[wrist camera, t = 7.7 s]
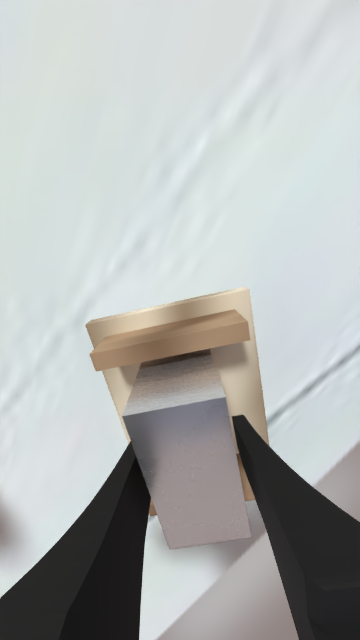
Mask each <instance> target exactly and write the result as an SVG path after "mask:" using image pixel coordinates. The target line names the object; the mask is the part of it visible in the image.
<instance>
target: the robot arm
mask: <svg viewBox="0 0 360 640" xmlns="http://www.w3.org/2000/svg"><path fill="white" fill-rule="evenodd" d="M232 421H233V426H234V432H235V437H236V443H237V447H238V451H239V454H240V458H241V461H242V465H243V468H244V470H245V473H246V476H247V478H248V481H249V484H250V486H251V489H252V492H253V494H254V497H255V499H256V502H257V505H258V507H259V510H260V513H261V515H262V518H263V521H264V524H265V527H266V530H267V533H268V536H269V540H270V543H271V546H272V549H273V552H274V556H275V559H276V563H277V566H278V570H279V573H280V576H281V580H282V583H283V586H284V590H285V593H286V596H287V600H288V603H289V607H290V610H291V613H292V617H293V620H294V623H295V627H296V630H297V634H298V637H299V640H360V522H359V521H357V520H356V519H354V518H353V517H351V516H350V515H349V514H347V513H346V512H345V511H343V510H342V509H340V508H339V507H338V506H336V505H335V504H334V503H332V502H331V501H330V500H329V499H327V498H326V497H325V496H323V495H322V494H321V493H320V492H318V491H317V490H316V489H314V488H313V487H312V486H311V485H310V484H308V483H307V482H306V481H305V480H304V479H303V478H301V477H300V476H299V475H298V474H297V473H296V472H295V471H294V470H292V469H291V468H290V467H289V466H288V465H287V464H286V463H285V462H284V461H283V460H282V459H281V458H280V457H279V456H278V455H277V454H276V453H275V452H274V451H273V450H272V449H271V448H270V447H269V445H268V444H267V443H266V442H265V441H264V440H263V439H262V438H261V436H260V435H259V434H258V433H257V432H256V430H255V429H254V428H253V427H252V425H251V424H250V423H249V421H248V420H247V418H246V417H245V416H244V415H237V416H232ZM150 502H151V496H150V493H149V490H148V488H147V485H146V482H145V479H144V476H143V474H142V471H141V468H140V465H139V463H138V460H137V457H136V454H135V451H134V449H133V446H132V443H131V441H130V443H129V445H128V446H127V448H126V450H125V451H124V453H123V455H122V456H121V458H120V460H119V461H118V463H117V465H116V466H115V468H114V469H113V471H112V473H111V474H110V476H109V477H108V479H107V480H106V481H105V483H104V484H103V486H102V487H101V489H100V490H99V492H98V493H97V494H96V496H95V497H94V499H93V500H92V501H91V503H90V504H89V505H88V506H87V508H86V509H85V510H84V512H83V513H82V514H81V515H80V516H79V518H78V519H77V520H76V521H75V522H74V523H73V525H72V526H71V527H70V528H69V529H68V530H67V532H66V533H65V534H64V535H63V536H62V537H61V538H60V540H59V541H58V542H57V543H56V544H55V545H54V546H53V547H52V548H51V549H50V550H49V551H48V552H47V553H46V554H45V555H44V556H43V557H42V559H41V560H40V561H39V562H38V563H37V564H36V565H35V566H34V567H33V568H32V569H31V570H30V571H28V572H27V573H26V574H25V575H24V576H23V577H22V578H21V579H20V580H19V581H18V582H17V583H16V584H15V585H14V586H13V587H12V588H11V589H9V590H8V591H7V592H6V593H5V594H4V595H3V596H2V597H1V598H0V640H139V627H140V605H141V588H142V572H143V558H144V545H145V536H146V529H147V522H148V515H149V508H150Z"/></svg>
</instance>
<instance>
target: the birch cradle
mask: <svg viewBox="0 0 360 640" xmlns="http://www.w3.org/2000/svg"><path fill="white" fill-rule="evenodd" d="M86 328H87V331H88V333H89V336H90V339H91V342H92V344H93V347H94V350H93V351H92V352H91V353H90V357H91V359H92V362H93V365H94V367H95V370H96V371H101V370H102V372H103V375H104V377H105V380H106V383H107V385H108V388H109V391H110V394H111V396H112V399H113V402H114V405H115V407H116V410H117V413H118V416H119V418H120V421H121V424H122V427H123V429H124V432H125V435H126V438H127V440H128V443H130V441H131V440H130V437H129V435H128V432H127V429H126V426H125V423H124V421H123V418H122V415H123V412H124V409H125V406H126V404H127V401H128V398H129V395H130V393H131V390H132V387H133V384H134V382H135V379H136V376H137V373H138V371H139V368H140V365H141V362H145V361H150V360H155V359H160V358H165V357H170V356H175V355H180V354H185V353H190V352H195V351H200V350H205V349H210V352H211V355H212V358H213V361H214V364H215V367H216V370H217V372H218V375H219V378H220V381H221V384H222V387H223V390H224V393H225V396H226V401H227V407H228V412H229V418H230V423H231V428H232V434H233V439H234V445H235V450H236V456H237V461H238V466H239V472H240V477H241V483H242V488H243V494H244V499H245V501H249V500H256V499H255V497H254V494H253V492H252V489H251V486H250V484H249V481H248V478H247V476H246V473H245V470H244V468H243V465H242V461H241V458H240V454H239V451H238V447H237V443H236V437H235V432H234V426H233V421H232V416H237V415H244V416H245V417H246V418H247V420H248V421H249V423H250V424H251V425H252V427H253V428H254V429H255V430H256V432H257V433H258V434H259V435H260V436H261V438H262V439H263V440H264V441H265V442H266V443H267V444H268V445H269V440H268V432H267V424H266V416H265V409H264V401H263V393H262V385H261V377H260V369H259V361H258V353H257V345H256V337H255V329H254V322H253V314H252V306H251V298H250V290H249V289H248V288H246V287H242V288H237V289H232V290H228V291H223V292H219V293H214V294H209V295H205V296H200V297H196V298H191V299H186V300H182V301H177V302H173V303H168V304H163V305H159V306H154V307H150V308H145V309H140V310H136V311H131V312H127V313H122V314H117V315H113V316H108V317H104V318H99V319H94V320H91V321H90V322H88V323H87V324H86ZM149 514H150V516H154V515H157V513H156V510H155V507H154V504H153V502H152V499H151V502H150V508H149Z"/></svg>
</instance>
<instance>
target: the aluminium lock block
mask: <svg viewBox="0 0 360 640" xmlns="http://www.w3.org/2000/svg"><path fill="white" fill-rule="evenodd" d="M122 418H123V421H124V423H125V426H126V429H127V432H128V435H129V437H130V440H131V443H132V446H133V449H134V451H135V454H136V457H137V460H138V463H139V465H140V468H141V471H142V474H143V476H144V479H145V482H146V485H147V488H148V490H149V493H150V496H151V499H152V502H153V504H154V507H155V510H156V513H157V516H158V518H159V521H160V524H161V527H162V529H163V532H164V535H165V538H166V541H167V543H168V546H169V549H176V548H183V547H190V546H196V545H203V544H210V543H217V542H224V541H230V540H237V539H244V538H251V532H250V526H249V521H248V515H247V510H246V505H245V499H244V494H243V488H242V483H241V477H240V472H239V466H238V461H237V456H236V450H235V445H234V439H233V434H232V428H231V423H230V418H229V412H228V407H227V401H226V396H225V393H224V390H223V387H222V384H221V381H220V378H219V375H218V372H217V370H216V367H215V364H214V361H213V358H212V355H211V352H210V349H205V350H200V351H195V352H190V353H185V354H180V355H175V356H170V357H165V358H160V359H155V360H150V361H145V362H141V365H140V368H139V371H138V373H137V376H136V379H135V382H134V384H133V387H132V390H131V393H130V395H129V398H128V401H127V404H126V406H125V409H124V412H123V415H122Z"/></svg>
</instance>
